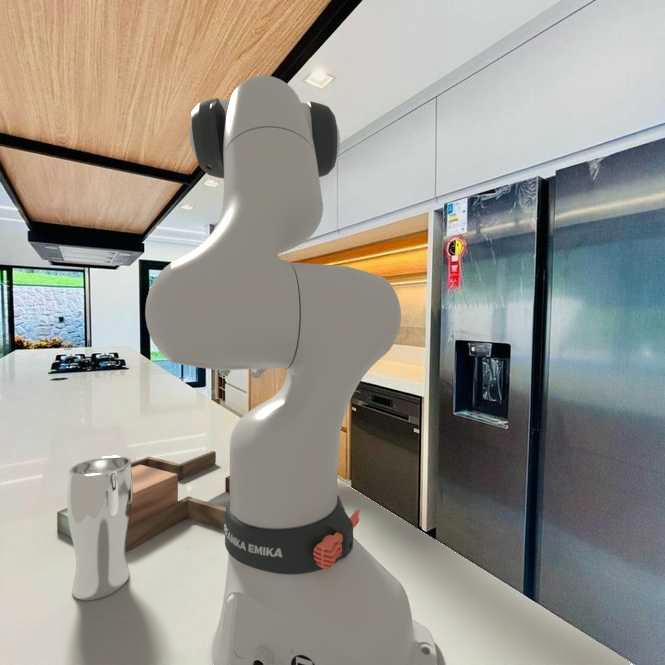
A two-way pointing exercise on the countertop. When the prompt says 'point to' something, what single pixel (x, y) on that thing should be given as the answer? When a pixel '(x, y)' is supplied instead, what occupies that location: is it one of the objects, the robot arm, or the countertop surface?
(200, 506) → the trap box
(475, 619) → the countertop surface
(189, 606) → the countertop surface
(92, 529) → the beer glass
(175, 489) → the terracotta block
